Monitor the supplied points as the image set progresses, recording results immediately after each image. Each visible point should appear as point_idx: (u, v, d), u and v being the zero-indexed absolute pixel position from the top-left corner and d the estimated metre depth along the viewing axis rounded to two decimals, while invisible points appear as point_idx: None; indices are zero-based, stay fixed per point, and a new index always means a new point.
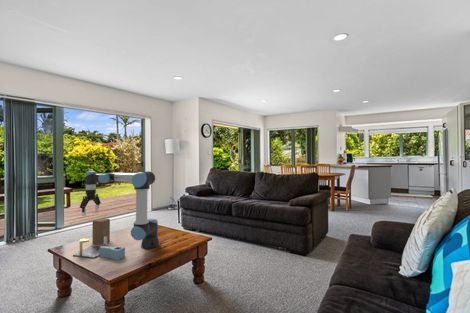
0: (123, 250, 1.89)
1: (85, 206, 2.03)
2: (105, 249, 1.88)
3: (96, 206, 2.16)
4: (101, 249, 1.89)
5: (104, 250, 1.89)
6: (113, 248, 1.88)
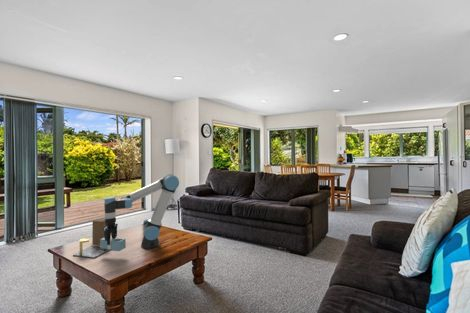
0: (124, 241, 1.89)
1: None
2: (106, 241, 1.89)
3: None
4: (102, 241, 1.89)
5: (105, 242, 1.89)
6: (114, 240, 1.88)
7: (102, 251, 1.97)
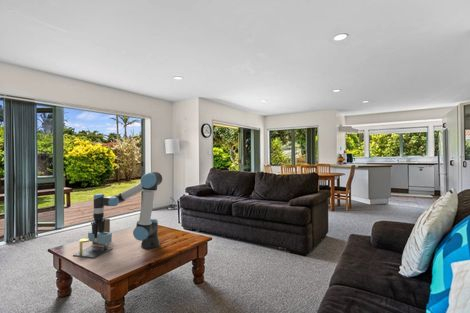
0: (110, 235, 2.03)
1: (97, 231, 2.01)
2: (93, 234, 2.02)
3: None
4: (89, 234, 2.03)
5: (92, 235, 2.03)
6: (100, 233, 2.02)
7: (102, 251, 1.97)
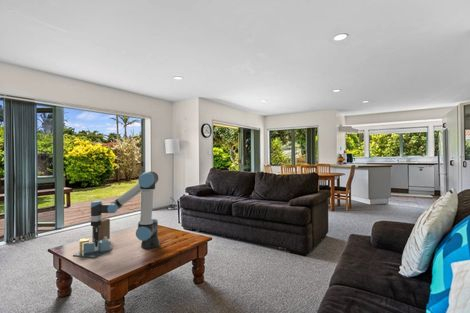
0: None
1: None
2: (91, 244, 1.95)
3: (95, 240, 2.02)
4: (86, 246, 1.93)
5: (90, 246, 1.95)
6: (100, 241, 1.99)
7: (102, 251, 1.97)
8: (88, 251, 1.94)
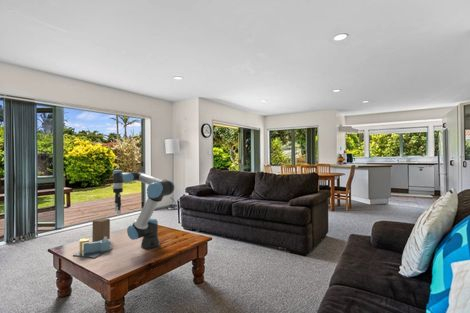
0: None
1: None
2: (91, 244, 1.95)
3: (116, 205, 2.18)
4: (86, 246, 1.93)
5: (90, 246, 1.95)
6: (100, 241, 1.99)
7: (102, 251, 1.97)
8: (88, 251, 1.94)
